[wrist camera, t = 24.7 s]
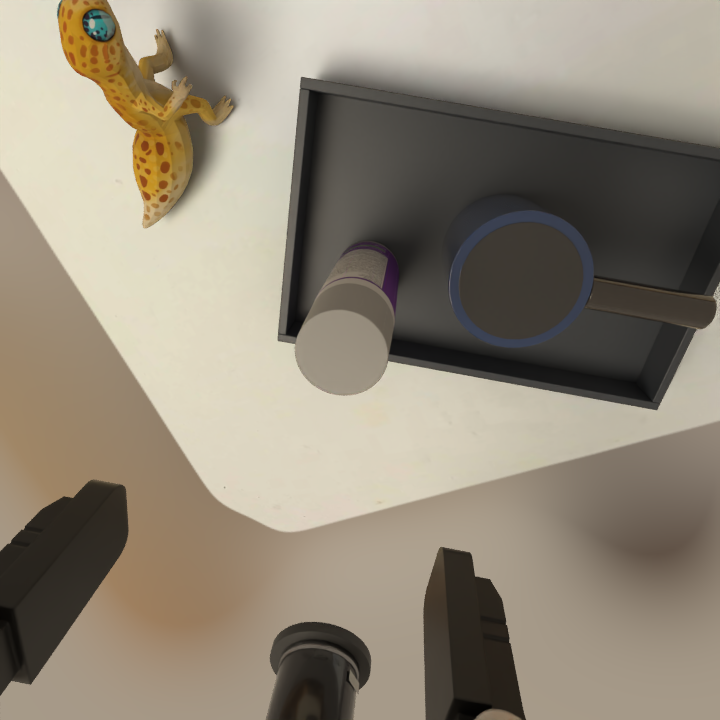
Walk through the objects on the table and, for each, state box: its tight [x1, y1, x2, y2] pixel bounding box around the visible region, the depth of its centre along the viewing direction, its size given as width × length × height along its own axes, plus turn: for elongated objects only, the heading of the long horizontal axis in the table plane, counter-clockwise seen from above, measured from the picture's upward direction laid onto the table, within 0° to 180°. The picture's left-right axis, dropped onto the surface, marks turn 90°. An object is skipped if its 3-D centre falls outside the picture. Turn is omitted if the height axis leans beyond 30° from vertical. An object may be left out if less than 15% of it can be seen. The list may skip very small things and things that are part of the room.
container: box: [295, 241, 399, 395], centre depth 30 cm, size 5×5×15 cm
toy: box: [57, 0, 234, 228], centre depth 31 cm, size 7×15×10 cm, turn 166°
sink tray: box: [278, 77, 720, 410], centre depth 34 cm, size 17×28×4 cm, turn 81°
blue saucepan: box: [441, 194, 717, 348], centre depth 31 cm, size 15×8×8 cm, turn 81°
